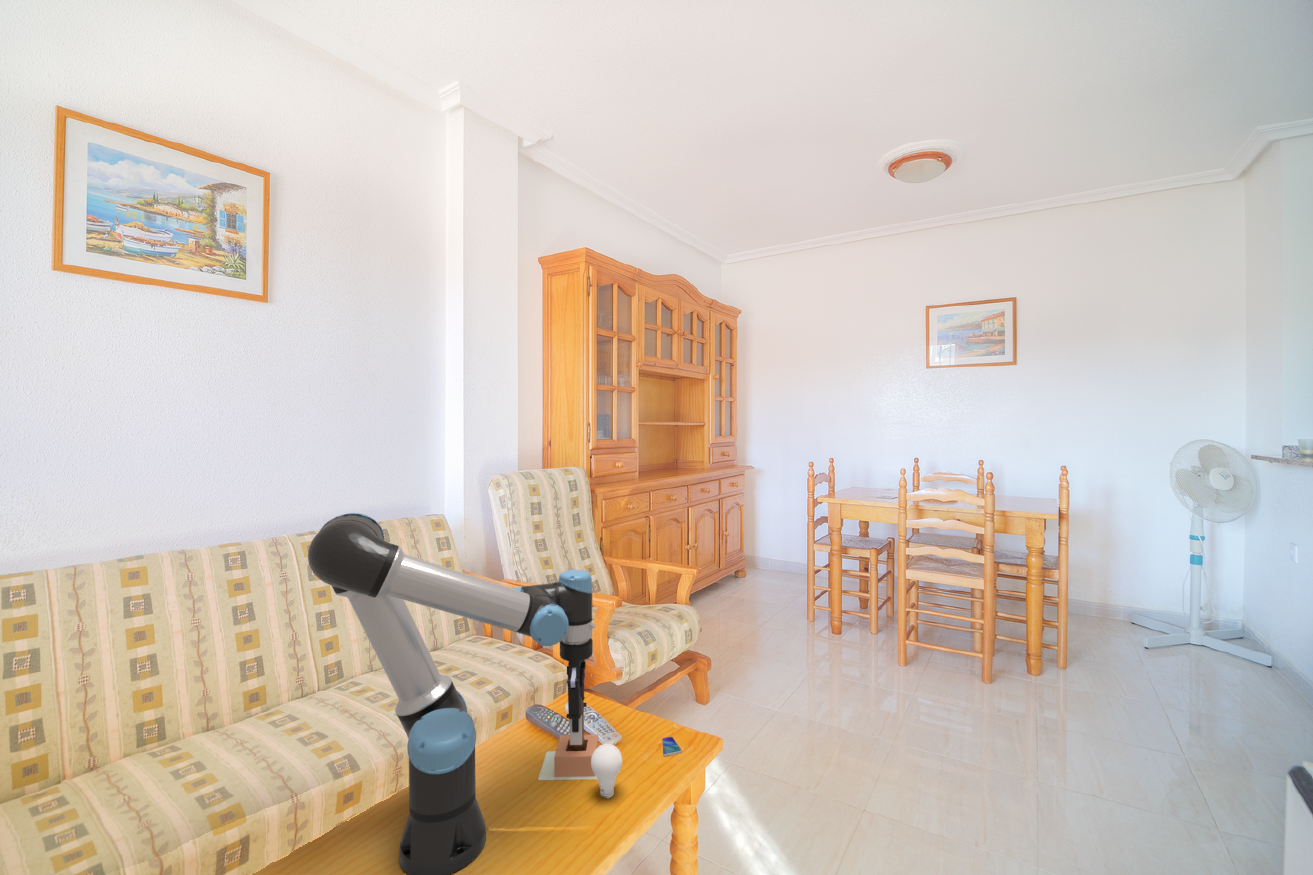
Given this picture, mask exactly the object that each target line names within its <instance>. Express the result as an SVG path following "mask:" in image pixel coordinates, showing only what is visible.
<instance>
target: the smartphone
mask: <svg viewBox="0 0 1313 875" xmlns="http://www.w3.org/2000/svg"><path fill="white" fill-rule="evenodd" d="M661 739H662V753H663V754H662V755H663V756H662V757H669V756H674V755H679V754H681V753H682V748H681V747H680V745H679V744H678V743H677V741H676V740H675V738H674V737H673V736H667V737H662V738H661Z"/></svg>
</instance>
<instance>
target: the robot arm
mask: <svg viewBox="0 0 1313 875" xmlns="http://www.w3.org/2000/svg"><path fill="white" fill-rule="evenodd" d="M402 549H403V548H402V547H401V546H400V545H397V544H394V543H391V542H389V541H387V540H385V533H384V530H383V527H382V526H381V525H380V523H379V522H378V521H376V519H374V518H372V517H371V516H369V515H367V514H364V513H359V512H350V513H349V512H348V513H343V514H341V515H337V516H335V517H334V518H331V519H329V520H328V521H327V522H325V524H323V525H322V527H321V528H320V529H319V531H318V533H317V534H316V535H315V536H314V537H313V539H312V540H311V542H310V544H309V547H308V552H307V561H308V565H309V567H310V570H311V571H312V573H313V574H314V575H315V577H317V578H318V579H319V580H320V581H322V582H323V583H325V584H327V585H330V586H331V587H332V590H333V591H334V593H335V595H336V596H340V597H344V598H345V597H346V598H347V599H348V601H349V603H350V605H351V606H352V609H353V611H354V613H355V614H356V615H355V616H356V618H357V619H358V620H359V623H360V625H361V627H362V629H363V630H364V633H365V635H366V637H367V639H368V640H369V643H370V645H371V647H372V649H373V650H374V652H375V655H376V656H377V659H378V660H379V662H380V665H381V667H382V669H383V671H384V673H385V674H386V676H387V679H388V681H389V682H390V685H391V686H392V688H393V691H394V692H395V694H396V697H397V698H398V701H397V704H396V706H395V709H394V710H395V714H396V716H397V718H398V720H399V722H400V725H401V726H402V728H403V730H404V732H405V734H406V736H407V739H408V740H407V756H408V805H409V808H408V810H409V811H408V812H409V813H408V816H407V820H406V822H405V825H404V830H403V832H402V836H401V837H400V842H399V846H398V849H399V850H398V855H399V856H398V857H399V858H398V859H399V860H398V862H399V865H400V867H401V870H403V871H404V872H405V873H406V874H407V875H452V874H453V873H455V872H457V871H460V870H462V869H464V868H465V867H466V866H468V865H470V863H472V862H473V861H474V860H475V859H476V858H477V857H478V856H479V855H480V853H481V852H482V851H483V848H484V847H485V844H486V840H487V839H486V836H487V835H486V834H487V833H486V832H487V831H486V822H485V819H484V816H483V814H482V810H481V808H480V805H479V803H478V800H477V796H476V787H477V786H476V784H477V783H476V781H477V780H476V741H477V732H476V727H475V722H474V719H473V717H472V716H471V715H470V714H469V713H468V707H467V703H466V701H465V698H464V697H463V695H461V693H460V692H459V691H458V690H457V688H456V687H455V685H454V682H453V680H452V678H451V677H450V676H449V675H446V674H440V672H439V669H438V668H437V665H436V664H435V662H434V660H433V658H432V655H431V653H430V651H429V650H428V649H429V648H428V647H427V645H426V643H425V641H424V638H423V637H422V635H421V632H420V630H419V628H418V626H417V625H416V623H415V620H414V618H413V616H412V614H411V612H410V610H409V608H408V605H407V604H406V601H407V602H411V603H414V604H418V605H421V606H424V607H428V608H431V609H434V610H439V611H441V612H445V613H449V614H452V615H455V616H458V617H463V618H466V619H470V620H473V621H476V622H480V623H483V624H487V625H490V626H494V627H496V628H497V627H498V628H501V629H504V630H507V631H511V632H515V633H518V634H520V635H524V636H528V637H531V639H532V640H534V642H536V643H537V644H539V645H540V646H543V647H551V646H555V645H558V644H559V657H560V658H561V659H562V660H563V661H567V662H568V665H567V666H566V675H567V679H566V684H567V702H568V703H567V704H568V705H567V706H568V707H567V708H568V710H567V711H568V713H566V719H568V720H569V735H570V745H582V715H581V698H582V700H583V701H584V708H586V707H587V704H588V703H587V702H585V697H586V696H585V678H586V671H585V670H586V667H587V663H586V662H587V660H588V659H589V658H591V657H592V655H593V653H594V652H593V651H594V650H593V647H594V646H593V645H594V644H593V642H594V641H593V638H592V637H593V630H594V629H595V628H596V624H594V623H593V592H594V591H593V581H592V575H591V573H590V572H589V571H586V570H583V569H570V570H566V571H562V572H560V574H559V576H558V580H557V581H555V582H551V583H545V584H544V583H542V584H541V583H540V584H532V585H525V586H524V585H521V586H518V587H512V588H511V587H508V586H505V585H502V584H498V583H495V582H492V581H490V580H486V579H483V578H480V577H477V576H474V575H472V574H468V573H465V572H461V571H458V570H455V569H452V568H449V567H445V566H444V565H443V566H442V565H439V564H437V563H434V562H431V561H428V560H424V559H421V558H417V557H415V556H412V555H408V554H406V553H404V552H403V550H402Z"/></svg>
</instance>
